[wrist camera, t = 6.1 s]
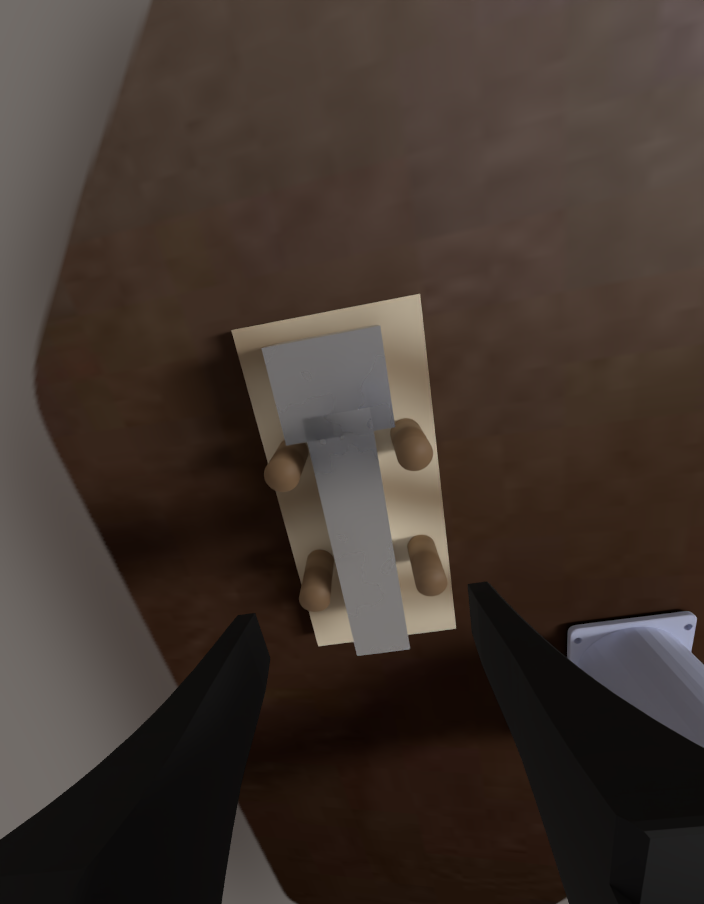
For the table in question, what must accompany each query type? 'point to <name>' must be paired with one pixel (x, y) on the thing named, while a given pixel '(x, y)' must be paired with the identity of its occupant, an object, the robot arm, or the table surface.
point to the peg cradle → (401, 463)
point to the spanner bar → (346, 466)
